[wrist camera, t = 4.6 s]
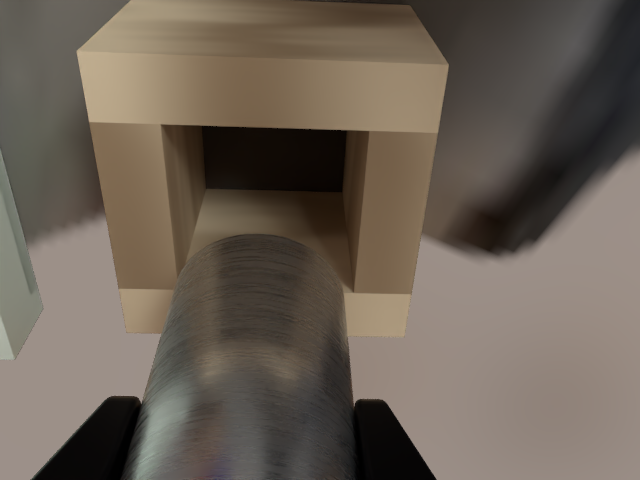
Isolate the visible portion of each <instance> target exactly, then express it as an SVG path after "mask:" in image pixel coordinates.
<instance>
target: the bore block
mask: <svg viewBox="0 0 640 480" xmlns="http://www.w3.org/2000/svg"><path fill="white" fill-rule="evenodd" d="M77 56H78V62H79V67H80V73H81V79H82V84H83V90H84V95H85V101H86V107H87V112H88V118H89V124H90V129H91V135H92V141H93V146H94V152H95V158H96V163H97V169H98V174H99V180H100V186H101V191H102V197H103V203H104V208H105V214H106V220H107V225H108V231H109V237H110V241H111V248H112V253H113V259H114V265H115V270H116V276H117V281H118V287H119V293H120V299H121V304H122V310H123V315H124V321H125V327H126V332H127V333H162V330H163V327H164V323H165V320H166V316H167V313H168V309H169V306H170V302H171V299H172V295H173V292H174V288H175V285H176V282H177V279H178V276H179V274H180V272H181V270H182V268H183V267H184V266H185V264H186V263H187V262H188V261H189V260H190V259H191V258H192V257H193V256H194V255H195V254H196V253H197V252H199V251H200V250H201V249H203V248H204V247H206V246H208V245H210V244H211V243H213V242H216V241H218V240H221V239H223V238H227V237H231V236H235V235H242V234H255V233H260V234H272V235H277V236H282V237H286V238H289V239H292V240H295V241H297V242H299V243H302V244H304V245H306V246H308V247H309V248H311V249H313V250H314V251H316V252H317V253H318V254H319V255H321V256H322V257H323V258H324V259H325V260H326V261H327V262H328V263H329V264H330V265H331V267H332V268H333V269H334V271H335V272H336V274H337V276H338V278H339V279H340V282H341V285H342V288H343V293H344V300H345V311H346V322H347V334H348V336H356V337H357V336H358V337H359V336H360V337H405V331H406V325H407V319H408V313H409V307H410V300H411V295H412V288H413V282H414V276H415V269H416V264H417V258H418V252H419V246H420V239H421V233H422V227H423V221H424V215H425V209H426V203H427V196H428V190H429V184H430V178H431V172H432V166H433V160H434V154H435V147H436V141H437V135H438V129H439V123H440V117H441V111H442V105H443V98H444V92H445V86H446V80H447V74H448V68H449V64H448V63H447V61H446V59H445V58H444V56H443V55H442V53H441V52H440V50H439V49H438V47H437V46H436V44H435V43H434V41H433V40H432V38H431V37H430V35H429V34H428V32H427V30H426V29H425V27H424V26H423V24H422V23H421V21H420V20H419V18H418V17H417V15H416V14H415V12H414V11H413V9H412V8H411V6H410V5H394V4H370V3H346V2H321V1H297V0H131V1H130V2H129V3H127V4H126V5H125V6H124V7H123V8H122V9H121V10H120V11H119V12H118V13H117V14H116V15H115V16H114V17H113V18H112V19H110V20H109V21H108V22H107V23H106V24H105V25H104V26H103V27H102V28H101V29H100V30H99V31H98V32H97V33H96V34H94V35H93V36H92V37H91V38H90V39H89V40H88V41H87V42H86V43H85V44H84V45H83V46H82V47H81V48H80V49H78V50H77ZM202 126H231V127H263V128H295V129H327V130H347V137H346V150H345V164H344V177H343V191H342V192H310V191H273V190H235V189H206V180H205V165H204V151H203V136H202Z"/></svg>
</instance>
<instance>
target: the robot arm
mask: <svg viewBox="0 0 640 480" xmlns="http://www.w3.org/2000/svg"><path fill="white" fill-rule="evenodd" d="M140 408H141V402H140V400H139V398H137V397H134V396H111V397H109V398H107V399H106V400H105V401H104V402H103V403H102V404H101V405H100V406H99V407H98V408H97V409H96V410H95V411H94V413H93V414H92V415H91V416H90V417H89V418H88V419H87V420H86V421H85V422H84V423H83V424H82V425H81V426H80V428H79V429H78V430H77V431H76V432H75V433H74V434H73V435H72V436H71V437H70V438H69V439H68V440H67V441H66V442H65V444H64V445H63V446H62V447H61V448H60V449H59V450H58V451H57V452H56V453H55V454H54V455H53V456H52V458H50V460H49V461H48V462H47V463H46V464H45V465H44V466H43V467H42V468H41V469H40V470H39V471H38V472H37V474H36V475H35V476H34V477H33V478H32V479H31V480H120V478H121V474H122V471H123V467H124V464H125V460H126V457H127V453H128V450H129V446H130V443H131V439H132V436H133V432H134V429H135V425H136V422H137V418H138V415H139V411H140ZM354 416H355V428H356V439H357V451H358V462H359V473H360V480H436V478H435V476H434V475H433V473H432V472H431V470H430V469H429V467H428V466H427V464H426V463H425V461H424V460H423V458H422V457H421V455H420V453H419V452H418V450H417V449H416V447H415V446H414V444H413V443H412V441H411V440H410V438H409V437H408V435H407V434H406V432H405V431H404V429H403V427H402V426H401V424H400V423H399V421H398V420H397V418H396V417H395V415H394V414H393V412H392V411H391V409H390V408H389V406H388V405H387V403H386V402H385V401H383V400H380V399H360V400H357V401H356V403H355V406H354Z"/></svg>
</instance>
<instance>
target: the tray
mask: <svg viewBox="0 0 640 480" xmlns="http://www.w3.org/2000/svg"><path fill="white" fill-rule="evenodd" d="M42 310H43V305H42V301H41V297H40V294H39V290H38V287H37V283H36V279H35V275H34V272H33V268H32V264H31V260H30V257H29V253H28V249H27V246H26V242H25V238H24V235H23V231H22V227H21V223H20V220H19V216H18V212H17V209H16V205H15V201H14V198H13V194H12V190H11V186H10V183H9V179H8V175H7V172H6V168H5V164H4V161H3V157H2V153H1V150H0V360H15V359H16V357H17V355H18V354H19V352H20V350H21V348H22V346H23V345H24V343H25V341H26V339H27V337H28V335H29V334H30V332H31V330H32V328H33V326H34V325H35V323H36V321H37V319H38V317H39V315H40V314H41V312H42Z"/></svg>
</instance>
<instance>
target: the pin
mask: <svg viewBox="0 0 640 480" xmlns="http://www.w3.org/2000/svg"><path fill="white" fill-rule="evenodd" d="M349 357H350V356H349V346H348V334H347V322H346V311H345V300H344V293H343V288H342V285H341V282H340V279H339V278H338V276H337V274H336V272H335V271H334V269H333V268H332V267H331V265H330V264H329V263H328V262H327V261H326V260H325V259H324V258H323V257H322V256H321V255H319V254H318V253H317V252H316V251H314V250H313V249H311V248H309V247H308V246H306V245H304V244H302V243H299V242H297V241H295V240H292V239H289V238H286V237H282V236H277V235H272V234H260V233H255V234H242V235H235V236H231V237H227V238H223V239H221V240H218V241H216V242H213V243H211V244H210V245H208V246H206V247H204V248H203V249H201V250H200V251H199V252H197V253H196V254H195V255H194V256H193V257H192V258H191V259H190V260H189V261H188V262H187V263H186V264H185V266H184V267H183V268H182V270H181V272H180V274H179V276H178V279H177V282H176V285H175V288H174V292H173V295H172V299H171V302H170V306H169V309H168V313H167V316H166V320H165V323H164V327H163V330H162V334H161V337H160V341H159V344H158V348H157V351H156V355H155V359H154V362H153V365H152V369H151V373H150V376H149V380H148V383H147V387H146V390H145V394H144V397H143V401H142V404H141V408H140V411H139V415H138V418H137V422H136V425H135V429H134V432H133V436H132V439H131V443H130V446H129V450H128V453H127V457H126V460H125V464H124V467H123V471H122V474H121V478H120V480H360V473H359V462H358V451H357V439H356V428H355V416H354V403H353V391H352V379H351V368H350V358H349Z"/></svg>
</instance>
